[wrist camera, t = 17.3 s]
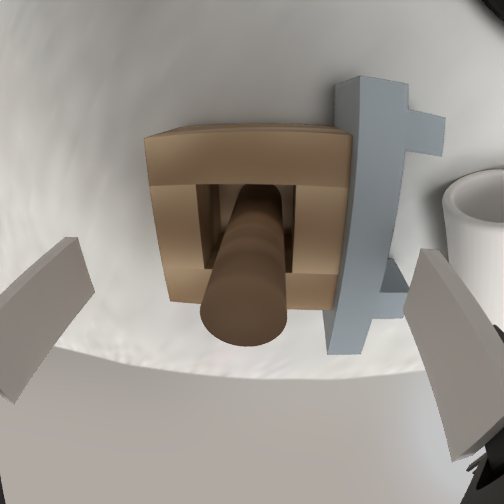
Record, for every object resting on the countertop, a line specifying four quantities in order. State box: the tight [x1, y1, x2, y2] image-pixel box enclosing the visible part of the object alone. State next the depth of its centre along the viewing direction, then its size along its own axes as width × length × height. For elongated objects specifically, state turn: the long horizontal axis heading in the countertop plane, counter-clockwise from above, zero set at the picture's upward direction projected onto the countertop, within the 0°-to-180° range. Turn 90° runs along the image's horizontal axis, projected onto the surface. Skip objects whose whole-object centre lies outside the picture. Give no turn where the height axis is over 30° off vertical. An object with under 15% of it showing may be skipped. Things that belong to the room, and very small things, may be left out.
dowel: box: [200, 184, 287, 346], centre depth 13 cm, size 3×3×10 cm
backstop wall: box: [322, 76, 445, 355], centre depth 14 cm, size 14×5×6 cm, turn 1°
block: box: [144, 124, 353, 310], centre depth 16 cm, size 9×9×5 cm
